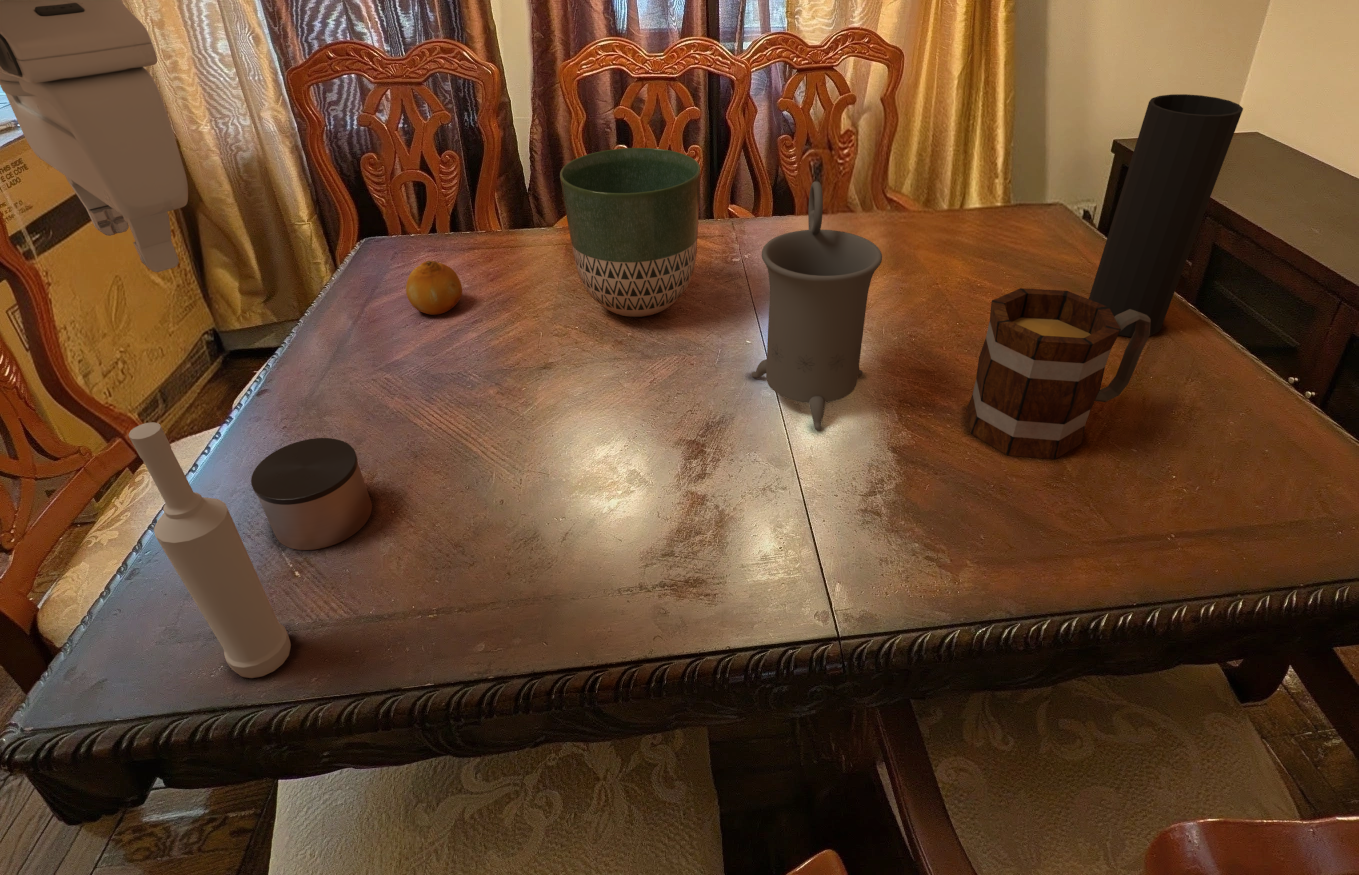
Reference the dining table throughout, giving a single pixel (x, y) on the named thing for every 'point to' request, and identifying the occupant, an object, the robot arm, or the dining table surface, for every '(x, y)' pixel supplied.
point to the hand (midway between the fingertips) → (137, 248)
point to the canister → (312, 493)
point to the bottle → (212, 562)
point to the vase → (1163, 203)
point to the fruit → (433, 288)
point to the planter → (633, 226)
